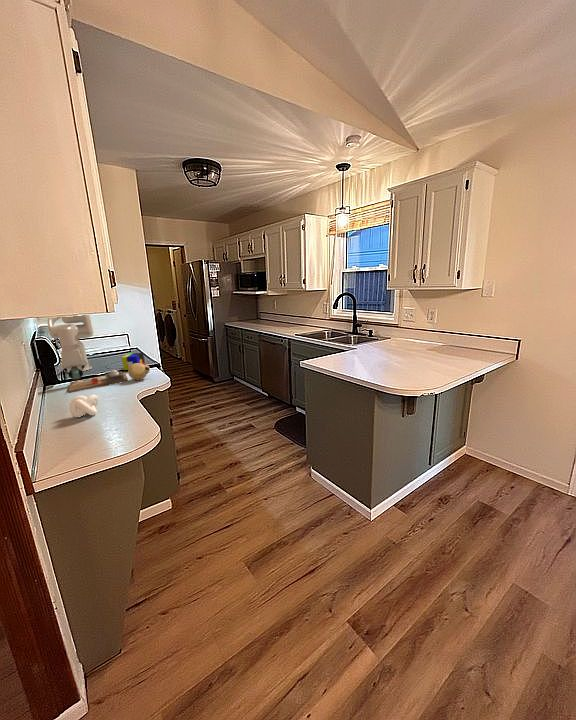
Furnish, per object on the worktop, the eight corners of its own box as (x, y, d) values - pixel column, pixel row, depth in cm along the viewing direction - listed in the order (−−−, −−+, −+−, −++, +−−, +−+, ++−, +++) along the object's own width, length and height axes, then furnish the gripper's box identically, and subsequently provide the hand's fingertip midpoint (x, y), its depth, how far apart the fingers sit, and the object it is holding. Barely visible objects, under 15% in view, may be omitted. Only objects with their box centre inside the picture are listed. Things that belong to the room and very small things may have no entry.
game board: (71, 384, 195) (69, 377, 194) (125, 374, 210) (123, 367, 208) (69, 392, 180) (67, 385, 179) (128, 381, 195) (126, 374, 194)
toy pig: (152, 379, 195) (149, 363, 192) (130, 383, 190) (127, 366, 187) (150, 375, 203) (147, 359, 200) (129, 379, 198) (126, 362, 195)
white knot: (66, 422, 143) (61, 403, 140) (77, 411, 154) (73, 394, 151) (93, 418, 144) (89, 400, 142) (103, 408, 156) (99, 391, 153)
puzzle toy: (138, 370, 216) (136, 356, 213) (124, 371, 216) (121, 357, 213) (145, 366, 225) (143, 352, 223) (131, 367, 226) (129, 353, 223)
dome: (109, 376, 195) (107, 369, 194) (119, 374, 198) (117, 367, 197) (109, 378, 191) (108, 371, 190) (120, 376, 193) (118, 369, 192)
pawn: (72, 377, 193) (69, 366, 190) (81, 376, 195) (78, 364, 192) (72, 380, 189) (69, 367, 187) (81, 378, 191) (78, 366, 189)
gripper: (86, 344, 194) (92, 372, 199) (52, 348, 185) (60, 378, 191) (86, 346, 187) (93, 375, 193) (51, 351, 179) (59, 382, 185)
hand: (76, 376), depth 192 cm, fingers closed on pawn, 4 cm apart
